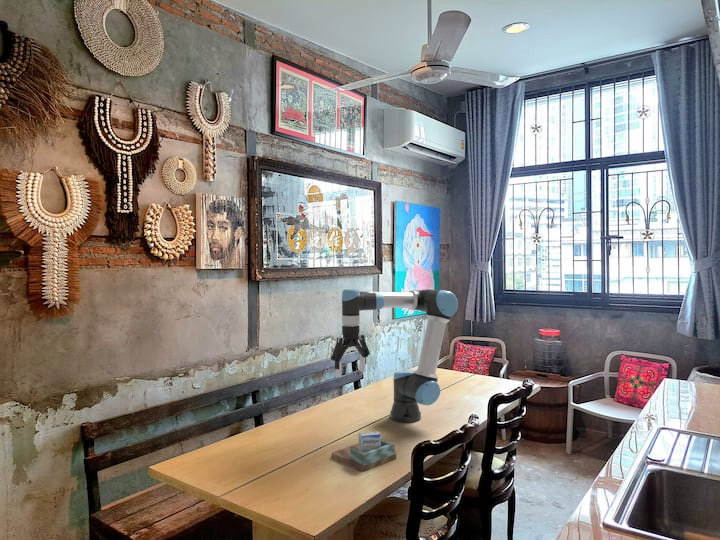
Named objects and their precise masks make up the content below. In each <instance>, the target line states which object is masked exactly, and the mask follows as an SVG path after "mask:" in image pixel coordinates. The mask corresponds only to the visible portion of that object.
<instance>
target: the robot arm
mask: <svg viewBox="0 0 720 540" xmlns="http://www.w3.org/2000/svg"><path fill="white" fill-rule="evenodd" d="M384 308H385V309H388V308H391V309H396V308H397V309H408V310H409V311H420V312H422V313H423V312H424V313H425V316H426V318H427V324H426V328H425V334H424V339H423V343H422V347H421V353H420V357H419V362H418V367H417V369H416V370H413V369H409V370H407V369H406V370H398V371H396V372H394V373H393V403H392V405H391V410H390V412H389V414H390V415H389V418H390V419H391V420H392V421H394V422H400V423H414V422H418V421H420V420H421V418H422V413H421V411H420V406H419V405H423V406H431V405H433V404H434V403H436V401H438V400H439V398H440V395H441V387H440V385H439V383H438V381H439V377H438V375H437V369H438V363H439V359H440V355H441V349H442V344H443V340H444V335H445V331H446V325H447V323H449V322H450V321H451V318H452V316H455V314H456V313H457V311H458V308H459V301H458V298H457V296H456V294H454V293H453V292H451V291H449V290H443V289H428V288H427V289H419V290H409V291H408V292H401V291H362V290H361V291H360V290H359V289H358V288H345V289H343V290H342V294H341V325H342V326H341V334H342V337H336V342H335V343H336V344H335V346H334V348H333V350H332V354H331V357H330V361H334V369H335V377H337V378H342V361H341V360H342V358H343V356H344V354H345V353H346V351H347V350H348V349H349V348H352V347H354V348H356V350H357V352H358V353H359V354H360V356H359V372H361V373H366V364H367V358H368V357H369V355H370V354H371V353H370V350H369V348H368V345H367V342H366V340H365V335H364V334H360V311H377V310H382V309H384Z"/></svg>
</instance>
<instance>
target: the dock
mask: <svg viewBox="0 0 720 540" xmlns="http://www.w3.org/2000/svg"><path fill="white" fill-rule="evenodd" d="M395 445H396V444H395V443H392V442H390V441H388V440H384V439H382V438H381V447H379V448H377V449H374V450H371V451H368V452H365V453H364V452H362V451H359V443H356V444H353V445H350V446H347V447H344V448H340V449H338V450H335V451H332V452H331V459H334V460H337V461H338V462H340V463H343V464H345V465H347V466H349V467H351V468H352V469H356V470H358V471H360V472H362V473H363V472H366V471H367V470H368V471H369V470H371V469H374V468H376V467H379V466H381V465H384V464H386V463H388V462H391V461H394V460H397V453H396V450H395Z"/></svg>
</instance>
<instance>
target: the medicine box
mask: <svg viewBox="0 0 720 540" xmlns="http://www.w3.org/2000/svg"><path fill="white" fill-rule="evenodd" d="M381 439H382V435H381V433H380V432H379V431H377V430H376V431H366V432H364V431H363V432H358V444H359V451H362V452H364V453H365V452H368V451H371V450H374V449H377V448H379V447H381Z"/></svg>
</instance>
